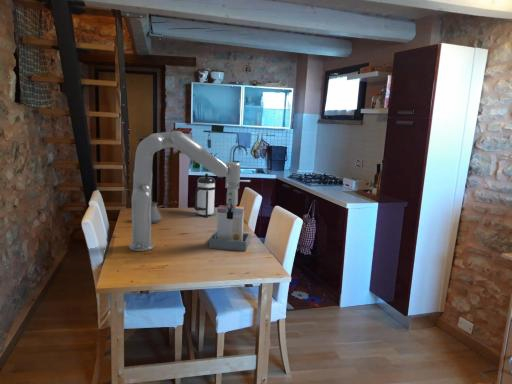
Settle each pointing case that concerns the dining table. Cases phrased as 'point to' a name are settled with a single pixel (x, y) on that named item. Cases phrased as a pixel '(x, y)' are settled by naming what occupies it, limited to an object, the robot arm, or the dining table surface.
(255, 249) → the dining table surface
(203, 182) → the coffee press
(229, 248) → the tray
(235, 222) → the cracker box
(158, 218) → the coffee pot
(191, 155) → the robot arm
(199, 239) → the dining table surface
